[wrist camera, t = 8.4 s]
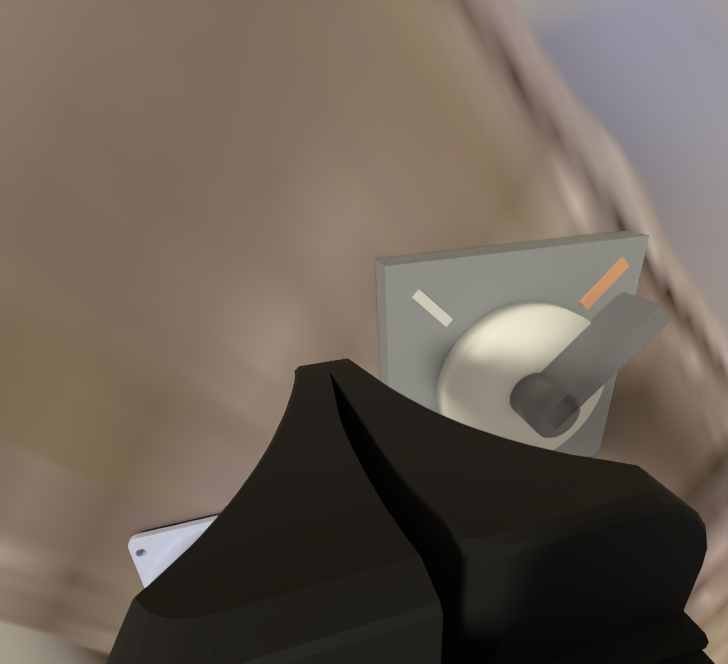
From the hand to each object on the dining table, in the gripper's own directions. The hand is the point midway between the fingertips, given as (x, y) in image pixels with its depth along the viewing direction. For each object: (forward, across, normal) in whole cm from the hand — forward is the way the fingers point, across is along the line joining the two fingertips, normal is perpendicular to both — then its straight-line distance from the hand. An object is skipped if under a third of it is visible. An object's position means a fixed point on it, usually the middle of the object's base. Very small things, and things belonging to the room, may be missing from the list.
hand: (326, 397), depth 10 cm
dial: (+8, -11, +6) cm, 15 cm away
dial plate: (+9, -11, +6) cm, 16 cm away
